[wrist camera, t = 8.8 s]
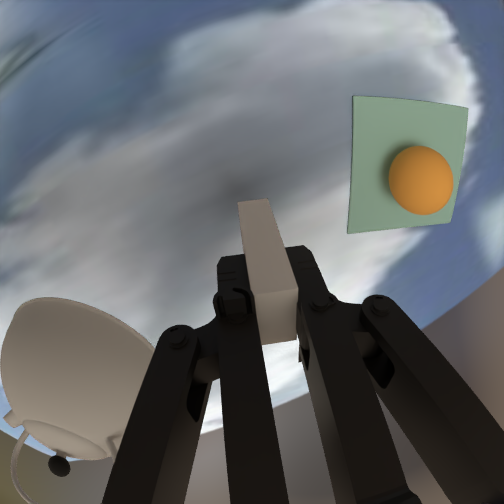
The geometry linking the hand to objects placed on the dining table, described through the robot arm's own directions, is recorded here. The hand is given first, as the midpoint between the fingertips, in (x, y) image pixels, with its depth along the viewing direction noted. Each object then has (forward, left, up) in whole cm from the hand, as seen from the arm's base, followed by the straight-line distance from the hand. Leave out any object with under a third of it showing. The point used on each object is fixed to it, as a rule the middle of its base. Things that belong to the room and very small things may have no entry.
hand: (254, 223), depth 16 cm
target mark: (+1, +15, -8) cm, 17 cm away
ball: (+1, +14, -6) cm, 15 cm away
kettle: (+22, -25, -9) cm, 34 cm away
